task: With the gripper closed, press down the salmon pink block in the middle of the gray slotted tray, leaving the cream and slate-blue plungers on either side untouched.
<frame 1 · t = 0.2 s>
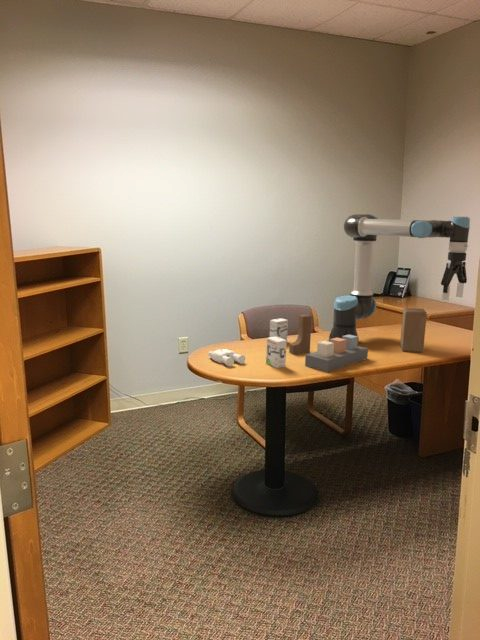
hand: (452, 298, 232), 28 cm above the table, fingers open, 13 cm apart
cream plunger: (325, 350, 220), point 7 cm above the table, slide at 0.0 cm
wooden block 2: (299, 353, 242), on the table
binoculars: (225, 361, 227), on the table
ink box 2: (278, 342, 261), on the table
wooden block: (411, 350, 251), on the table
salmon pink block: (337, 347, 226), point 7 cm above the table, slide at 0.0 cm
slate-blue plunger: (349, 343, 232), point 7 cm above the table, slide at 0.0 cm
gray slotted tray: (336, 362, 228), on the table
ink box: (275, 365, 222), on the table
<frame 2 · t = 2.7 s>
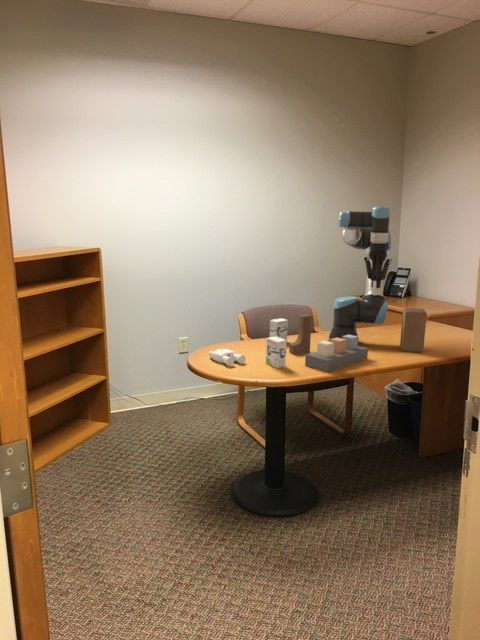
hand: (375, 294, 231), 29 cm above the table, fingers closed
nothing on the table moved.
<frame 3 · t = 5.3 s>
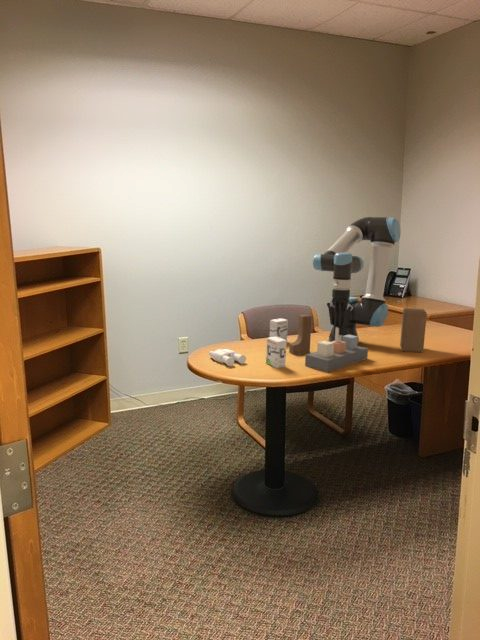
hand: (338, 341, 226), 10 cm above the table, fingers closed
salmon pink block: (337, 349, 226), point 6 cm above the table, slide at 1.2 cm, touching gripper
everything else where it was.
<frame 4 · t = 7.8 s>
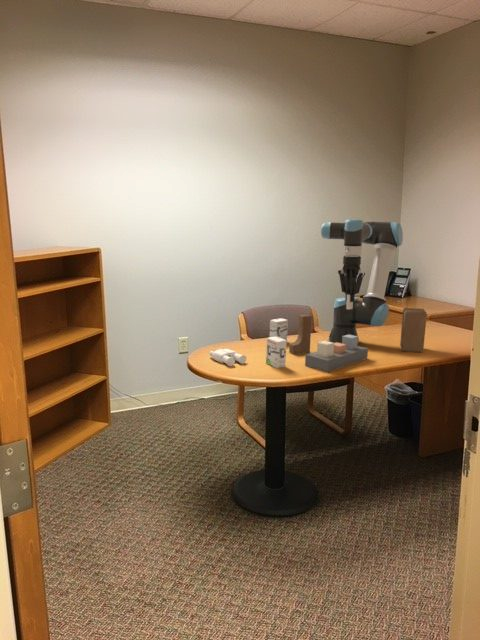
hand: (349, 308, 226), 24 cm above the table, fingers closed
salmon pink block: (337, 352, 227), point 5 cm above the table, slide at 2.3 cm
everything else where it was.
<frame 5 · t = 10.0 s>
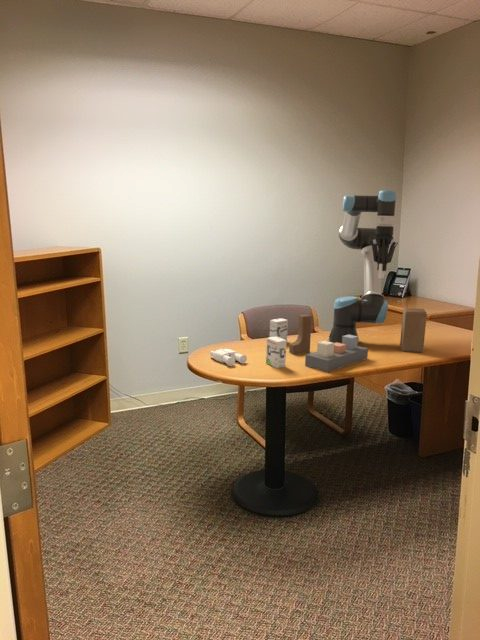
hand: (381, 277, 234), 36 cm above the table, fingers closed
nothing on the table moved.
at the end: salmon pink block slide at 2.3 cm; cream plunger slide at 0.0 cm; slate-blue plunger slide at 0.0 cm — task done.
